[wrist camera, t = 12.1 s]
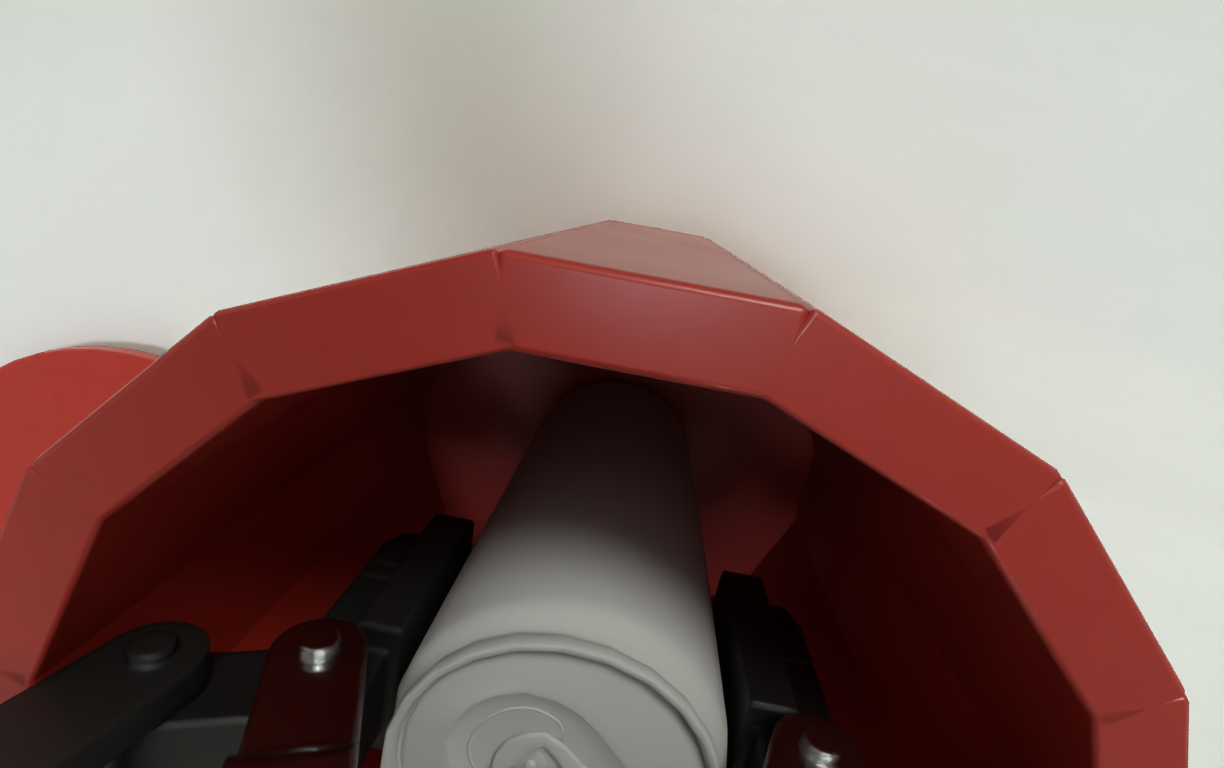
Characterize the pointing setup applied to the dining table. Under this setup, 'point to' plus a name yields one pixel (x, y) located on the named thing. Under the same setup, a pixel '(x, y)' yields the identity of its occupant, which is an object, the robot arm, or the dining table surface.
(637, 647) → the beverage can
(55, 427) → the lid
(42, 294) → the dining table surface
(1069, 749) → the pot
